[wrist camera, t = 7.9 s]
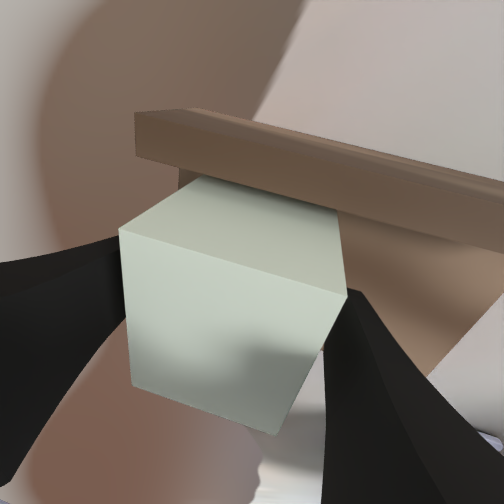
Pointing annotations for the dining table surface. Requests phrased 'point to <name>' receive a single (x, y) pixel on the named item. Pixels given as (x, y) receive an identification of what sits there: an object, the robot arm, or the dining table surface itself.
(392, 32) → the dining table surface
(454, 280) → the cleat board
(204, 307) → the sage block
